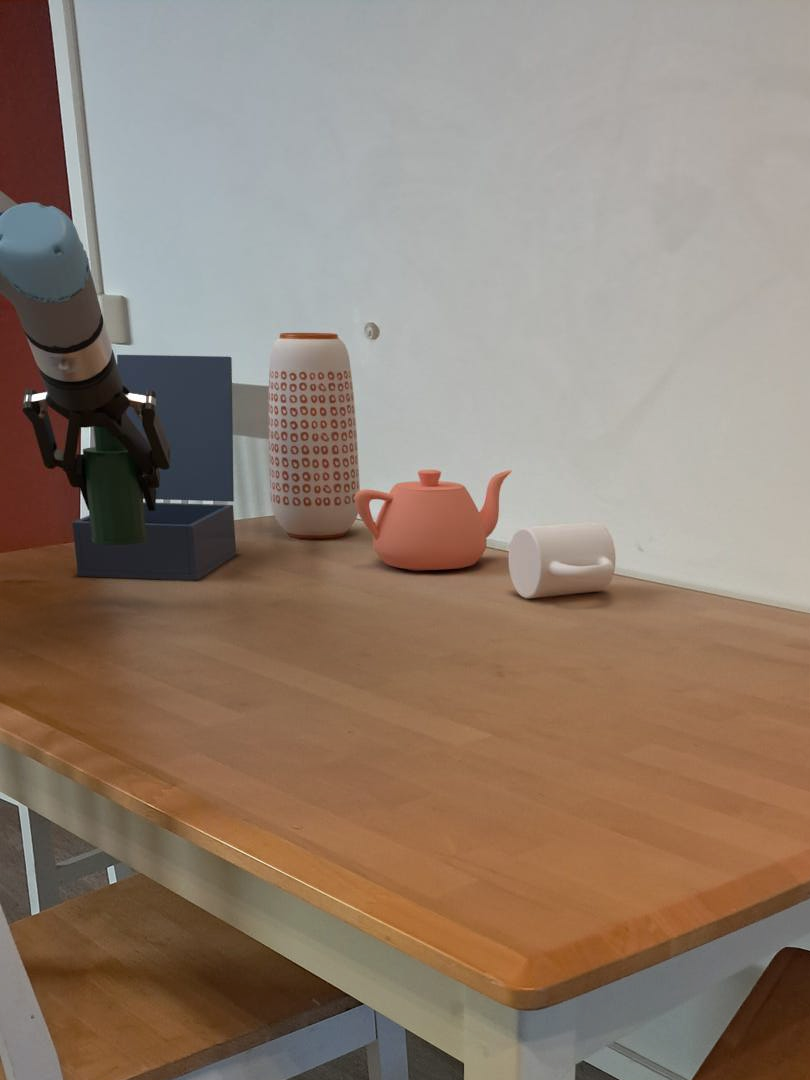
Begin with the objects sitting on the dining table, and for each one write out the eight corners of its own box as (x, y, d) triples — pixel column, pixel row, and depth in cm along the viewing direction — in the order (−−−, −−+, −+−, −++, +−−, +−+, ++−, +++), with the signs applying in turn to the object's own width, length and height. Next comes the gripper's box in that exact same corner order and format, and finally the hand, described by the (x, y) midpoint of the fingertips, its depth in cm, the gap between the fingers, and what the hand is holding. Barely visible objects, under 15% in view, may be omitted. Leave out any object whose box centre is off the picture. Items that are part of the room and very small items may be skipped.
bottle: (84, 544, 143) (71, 422, 138) (104, 535, 149) (92, 417, 143) (135, 546, 142) (124, 424, 137) (154, 536, 148) (144, 419, 143)
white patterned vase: (353, 542, 186) (347, 335, 175) (264, 541, 187) (252, 334, 176) (366, 527, 199) (361, 332, 187) (282, 526, 199) (272, 331, 188)
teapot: (490, 549, 183) (492, 461, 178) (531, 569, 170) (534, 474, 165) (342, 558, 175) (339, 465, 170) (372, 579, 163) (370, 480, 158)
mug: (506, 591, 157) (508, 522, 154) (579, 584, 162) (582, 517, 158) (557, 612, 147) (560, 539, 144) (633, 604, 151) (637, 533, 148)
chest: (196, 580, 161) (192, 525, 158) (78, 576, 162) (71, 522, 160) (236, 554, 177) (233, 504, 174) (128, 551, 178) (123, 501, 176)
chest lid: (229, 356, 169) (244, 363, 176) (116, 354, 171) (134, 361, 177) (232, 501, 174) (245, 502, 180) (121, 498, 175) (139, 499, 182)
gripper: (-29, 385, 124) (35, 527, 145) (170, 388, 125) (204, 528, 147) (-21, 324, 126) (41, 473, 148) (174, 328, 128) (207, 474, 149)
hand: (122, 500), depth 147 cm, fingers closed on bottle, 6 cm apart
